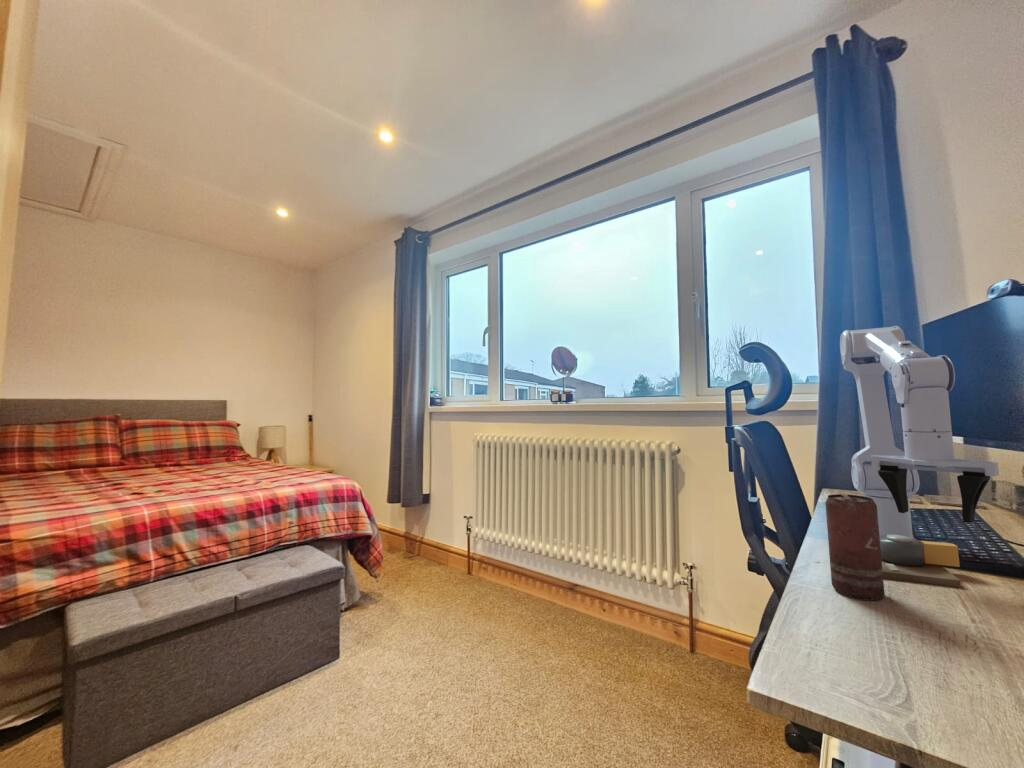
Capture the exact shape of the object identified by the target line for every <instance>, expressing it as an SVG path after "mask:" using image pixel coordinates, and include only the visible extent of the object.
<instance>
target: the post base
mask: <svg viewBox="0 0 1024 768" xmlns="http://www.w3.org/2000/svg"><path fill="white" fill-rule="evenodd" d="M882 571H883V579H888V580H896V581H904V582H905V581H906V582H913V583H923V584H929V585H938V586H946V587H953V588H954V587H957V588H962V584H961V583H962V582H961V579H959V577H956V576H955V574H953V573H951V572H950V571H949V570H947V569H946V568H945V567H943V565H936V564H926V563H925V564H924V565H920V566H912V565H902V564H897V563H892V562H888V561H885V560H883V559H882Z"/></svg>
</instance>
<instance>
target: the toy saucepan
mask: <svg viewBox="0 0 1024 768" xmlns="http://www.w3.org/2000/svg"><path fill="white" fill-rule="evenodd" d="M880 548H881V559H883V560H885V561H888V562H892V563H897V564H902V565H912V566H920V565H924V564H925V563H926V564H936V565H941V566H948V567H955V568H960V566H961V565H960V558H959V547H958V545H956V544H954V543H949V542H940V541H939V542H938V541H927V540H926V541H925V540H919V539H916V538H915V539H912V538H910V537H907V536H902V535H880Z"/></svg>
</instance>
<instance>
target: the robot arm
mask: <svg viewBox="0 0 1024 768" xmlns="http://www.w3.org/2000/svg"><path fill="white" fill-rule="evenodd" d="M839 349H840V350H839V351H840V357H841V363H842V366H843V370H845V371H847V372H850V373H852V375H853V377H854V381H855V383H856V390H857V396H858V403H859V409H860V416H861V423H862V431H863V439H864V444H865V447H864V448H862V449H860V450H858V451H857V452H855V453H854V454H853V455H852V457H851V473H850V474H851V481H852V484H853V486H854V489H856V490H857V492H859V493H862V496H864V497H869V498H872V499H873V501H874V502H875V504H876V505H877V513H878V525H879V536H880V535H902V536H907V537H910V538H912V539H916V538H915V537H914V536H913V527H912V518H911V517H912V516H911V515H912V514H911V504H910V498H913V495H915V494H916V493H917V492H919V489H920V484H921V483H920V474H919V472H918V471H931V472H932V471H933V472H943V473H944V472H945V473H953V474H954V473H956V474H960V475H957V476H956V477H957V478H956V479H957V482H958V487H959V492H960V496H961V509H962V511H961V512H962V520H963V521H962V522H963V523H966V524H971V523H973V522H975V514H976V509H977V505H978V503H979V499H980V498H981V495H982V493H983V491H984V490H985V488H986V486H987V485H988V483H989V482H990V480H991V477H998V476H999V475H1000V473H999V463H998V461H984V460H973V459H963V458H962V459H961V458H955V452H954V451H955V450H954V437H953V430H952V429H953V428H952V420H951V409H950V408H951V407H950V397H949V392H951V391H952V390H953V388H954V386H955V382H956V371H955V366H954V363H953V362H952V360H951V358H949V357H948V356H947V355H945V354H943V355H938V356H931V355H929V354H928V353H927V352H925V351H923V350H922V349H921V348H919V346H917V345H915V344H913V342H912V341H910V340H906V337H905V332H904V330H903V329H902V328H901V327H900V326H898V325H893V326H887V327H875V328H874V327H873V328H864V329H853V330H852V329H851V330H849V329H846V330H843V332H842V333H841V334H840V337H839ZM886 371H887V372H888V373H889V374H890V375H891V382H892V386H893V389H894V393H895V397H896V399H895V400H896V402H897V404H899V405H900V414H901V415H900V416H901V426H902V437H903V449H904V451H903V450H901V449H900V448H898V447H897V446H896V445H895V439H894V433H893V428H892V427H893V426H892V420H891V416H890V409H889V403H888V397H887V392H886V386H885V385H886V383H885V379H884V374H885V372H886Z"/></svg>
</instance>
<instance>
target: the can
mask: <svg viewBox="0 0 1024 768" xmlns="http://www.w3.org/2000/svg"><path fill="white" fill-rule="evenodd" d="M824 504H825V515H826V526H827V527H826V528H827V529H826V530H827V540H828V553H829V554H828V555H829V565H830V568H829V569H830V578H831V580H830V581H831V586H833V587H832V588H833V589H834V590H835V591H836V592H837V593H839V594H841V595H843V596H846V597H849V598H851V599H852V598H853V599H857V600H862V601H879V600H881V599H882V598H883V597H884V596H885V583H884V578H883V571H882V559H881V548H880V536H879V525H878V513H877V505H876V504H875V502H874V501H873V499H872V498H869V497H864V496H863V495H857V494H854V495H853V494H845V493H839V494H837V493H836V494H835V493H834V494H829V495H827V498H826V500H825V503H824Z"/></svg>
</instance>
